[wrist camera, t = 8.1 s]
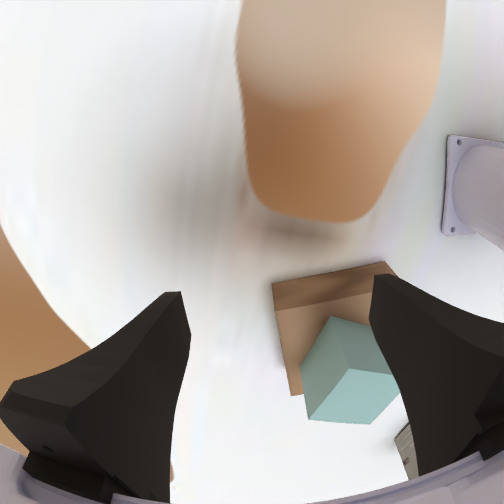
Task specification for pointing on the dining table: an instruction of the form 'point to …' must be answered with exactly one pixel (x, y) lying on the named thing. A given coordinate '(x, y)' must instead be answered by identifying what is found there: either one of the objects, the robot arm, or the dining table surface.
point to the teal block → (346, 375)
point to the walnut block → (320, 310)
